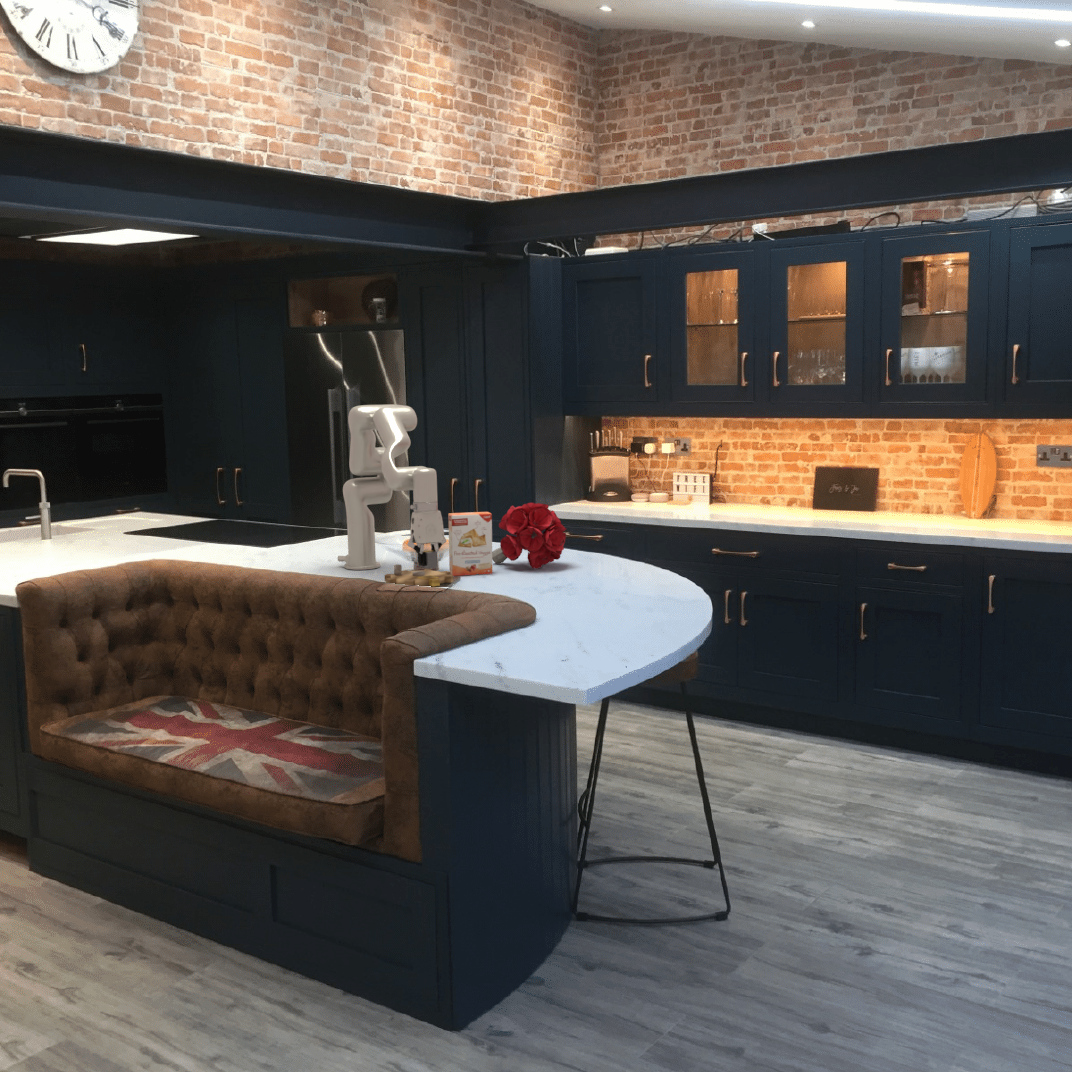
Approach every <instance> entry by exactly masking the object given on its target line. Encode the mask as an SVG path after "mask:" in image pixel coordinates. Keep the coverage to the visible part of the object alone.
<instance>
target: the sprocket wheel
mask: <svg viewBox="0 0 1072 1072" xmlns="http://www.w3.org/2000/svg"><path fill="white" fill-rule="evenodd" d="M453 577H454V576H453V575H451V572H450V570H444V571H443V570H442V571H440V570H433V568H425V569H422V570H402V564H394V565H393V573H386V574H385V575H384V583H385V582H386V583H395V584H405V585H419V586H432V587H434V586H440V584H442V583H445V582H448V583H451V582H453Z"/></svg>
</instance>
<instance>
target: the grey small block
mask: <svg viewBox="0 0 1072 1072" xmlns="http://www.w3.org/2000/svg"><path fill="white" fill-rule="evenodd" d="M423 553H424V554H425V566H420V565H419V564H418V567H421V568H425V569H433V568H438V567H439V565H438V552H436V551H433V550H431V549H424V551H423Z"/></svg>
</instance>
